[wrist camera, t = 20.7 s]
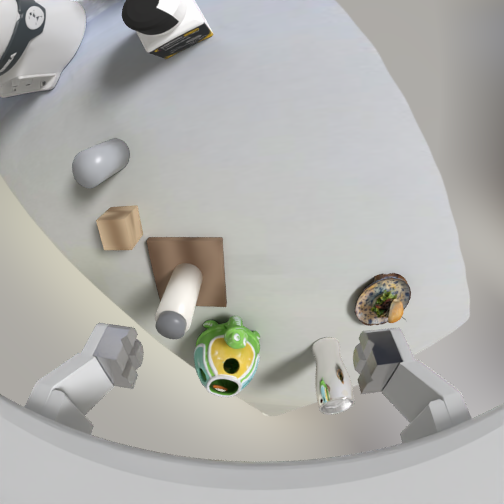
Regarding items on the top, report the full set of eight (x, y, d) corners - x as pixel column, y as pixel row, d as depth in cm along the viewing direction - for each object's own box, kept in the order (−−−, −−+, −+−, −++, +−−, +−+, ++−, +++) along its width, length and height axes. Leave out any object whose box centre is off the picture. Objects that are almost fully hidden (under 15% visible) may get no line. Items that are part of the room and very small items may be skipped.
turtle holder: (276, 305, 50) (279, 358, 39) (249, 362, 59) (247, 408, 48) (207, 290, 48) (196, 342, 38) (194, 351, 57) (184, 397, 47)
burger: (367, 267, 45) (382, 294, 39) (417, 276, 46) (434, 301, 40) (342, 317, 51) (351, 346, 45) (390, 322, 52) (402, 348, 46)
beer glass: (317, 333, 53) (329, 397, 40) (347, 337, 54) (363, 397, 41) (304, 354, 57) (311, 414, 44) (332, 357, 57) (344, 415, 45)
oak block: (117, 234, 43) (104, 250, 38) (110, 207, 40) (96, 220, 36) (143, 234, 43) (131, 250, 38) (137, 205, 40) (124, 218, 36)
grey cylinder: (103, 172, 37) (76, 189, 30) (99, 140, 34) (69, 153, 28) (131, 169, 37) (106, 186, 30) (127, 136, 34) (100, 147, 27)
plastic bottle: (175, 287, 46) (156, 339, 36) (170, 262, 44) (148, 314, 33) (204, 288, 46) (191, 342, 36) (201, 263, 44) (185, 316, 33)
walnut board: (162, 299, 49) (161, 303, 48) (148, 237, 43) (146, 241, 42) (226, 302, 49) (226, 306, 48) (222, 237, 43) (221, 241, 42)
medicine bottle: (166, 60, 29) (127, 47, 19) (146, 23, 26) (105, 1, 15) (214, 35, 27) (195, 9, 17) (193, -2, 24) (167, -36, 14)
